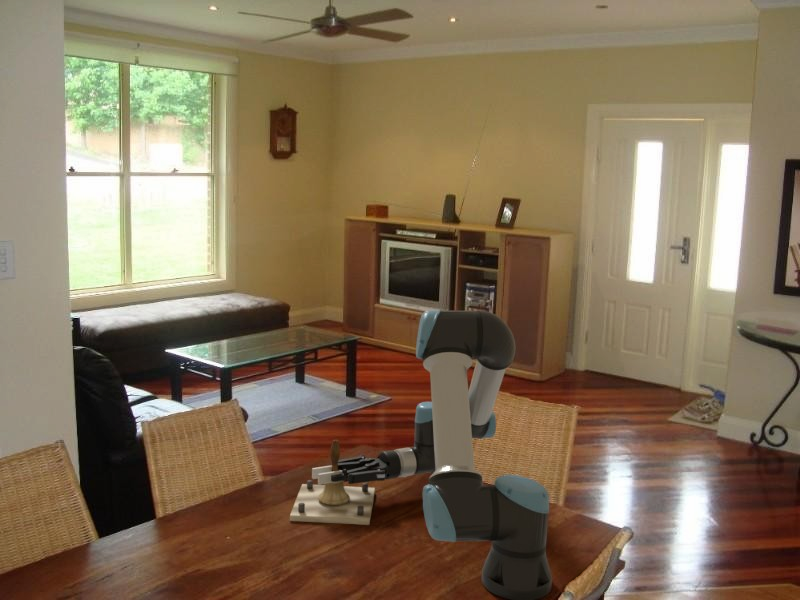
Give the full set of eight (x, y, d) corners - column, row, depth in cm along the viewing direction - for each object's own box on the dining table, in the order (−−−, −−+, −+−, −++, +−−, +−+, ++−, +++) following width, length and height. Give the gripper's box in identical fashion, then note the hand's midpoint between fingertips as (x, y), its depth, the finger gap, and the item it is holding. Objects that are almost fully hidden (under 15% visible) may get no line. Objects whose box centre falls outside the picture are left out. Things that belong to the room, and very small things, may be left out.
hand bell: (315, 493, 216) (316, 436, 213) (345, 491, 218) (347, 434, 215) (321, 506, 208) (323, 447, 205) (353, 503, 210) (354, 444, 208)
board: (369, 524, 203) (369, 511, 202) (289, 520, 204) (290, 507, 203) (374, 492, 223) (374, 480, 222) (302, 489, 223) (302, 477, 223)
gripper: (409, 487, 214) (327, 502, 203) (381, 466, 228) (303, 478, 217) (411, 460, 212) (328, 473, 201) (382, 440, 227) (304, 452, 216)
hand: (315, 476), depth 209 cm, fingers closed on hand bell, 3 cm apart
